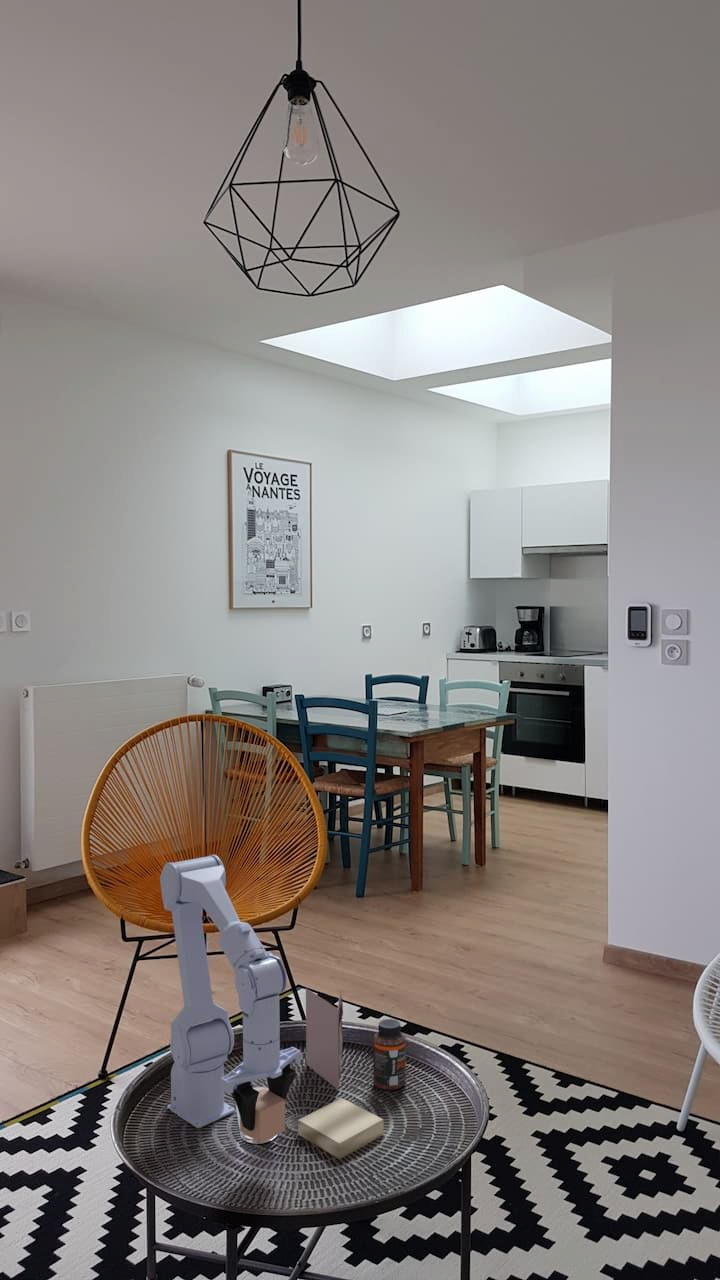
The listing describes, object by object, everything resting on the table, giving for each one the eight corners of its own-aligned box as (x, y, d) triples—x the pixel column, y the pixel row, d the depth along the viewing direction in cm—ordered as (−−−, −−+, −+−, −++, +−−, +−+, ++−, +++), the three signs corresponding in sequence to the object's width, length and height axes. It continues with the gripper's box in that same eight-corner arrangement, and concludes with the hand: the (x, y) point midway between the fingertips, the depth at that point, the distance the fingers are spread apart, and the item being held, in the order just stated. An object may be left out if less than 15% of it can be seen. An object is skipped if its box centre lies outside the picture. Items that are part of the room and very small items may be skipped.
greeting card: (343, 1090, 181) (342, 1008, 180) (302, 1089, 181) (301, 1008, 180) (345, 1060, 192) (345, 983, 192) (307, 1059, 193) (306, 983, 192)
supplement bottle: (403, 1093, 180) (402, 1031, 179) (370, 1090, 181) (370, 1029, 180) (408, 1077, 186) (407, 1017, 185) (376, 1074, 187) (376, 1015, 186)
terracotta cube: (240, 1130, 157) (239, 1099, 157) (264, 1118, 160) (264, 1088, 160) (260, 1143, 153) (260, 1111, 153) (285, 1130, 157) (284, 1099, 157)
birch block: (298, 1137, 166) (298, 1119, 166) (341, 1114, 173) (341, 1097, 173) (339, 1161, 159) (339, 1143, 159) (383, 1136, 166) (383, 1119, 166)
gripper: (240, 1060, 148) (241, 1149, 149) (313, 1029, 158) (313, 1113, 159) (211, 1045, 153) (212, 1131, 154) (284, 1016, 163) (284, 1097, 164)
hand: (262, 1121), depth 157 cm, fingers closed on terracotta cube, 5 cm apart
